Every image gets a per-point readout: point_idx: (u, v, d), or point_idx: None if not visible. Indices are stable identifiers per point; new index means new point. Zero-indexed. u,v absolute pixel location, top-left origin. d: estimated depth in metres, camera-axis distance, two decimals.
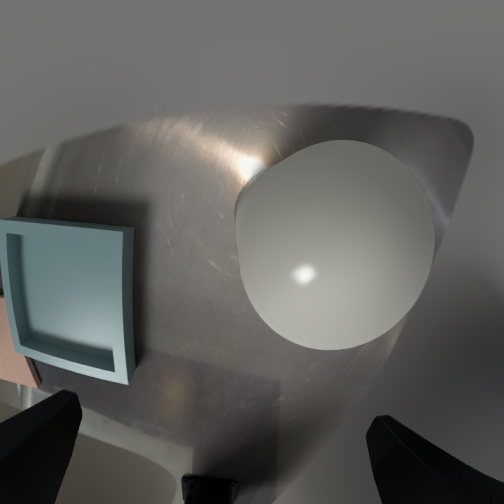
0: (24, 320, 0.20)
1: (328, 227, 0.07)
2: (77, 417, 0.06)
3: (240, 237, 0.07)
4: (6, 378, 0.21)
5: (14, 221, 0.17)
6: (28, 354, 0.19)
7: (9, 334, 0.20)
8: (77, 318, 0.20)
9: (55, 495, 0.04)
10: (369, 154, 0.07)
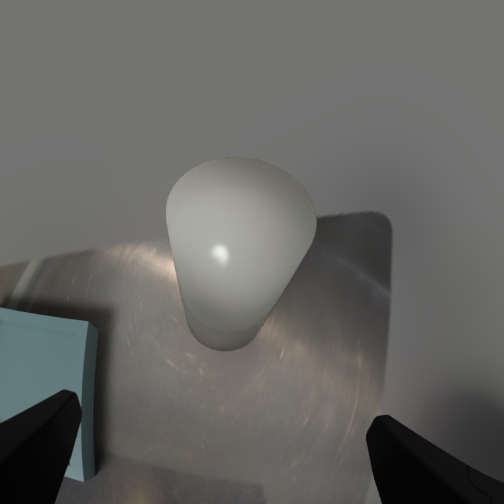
0: None
1: (223, 195, 0.12)
2: (77, 417, 0.06)
3: (167, 203, 0.11)
4: None
5: None
6: None
7: None
8: None
9: (55, 496, 0.04)
10: (245, 161, 0.13)
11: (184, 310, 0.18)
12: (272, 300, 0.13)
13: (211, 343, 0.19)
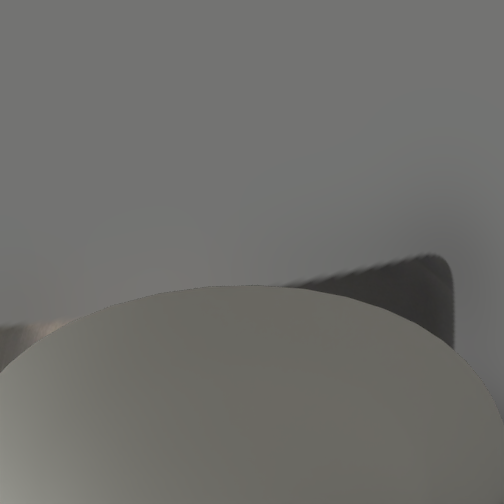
0: None
1: None
2: None
3: None
4: None
5: None
6: None
7: None
8: None
9: None
10: (279, 321, 0.02)
11: None
12: None
13: None
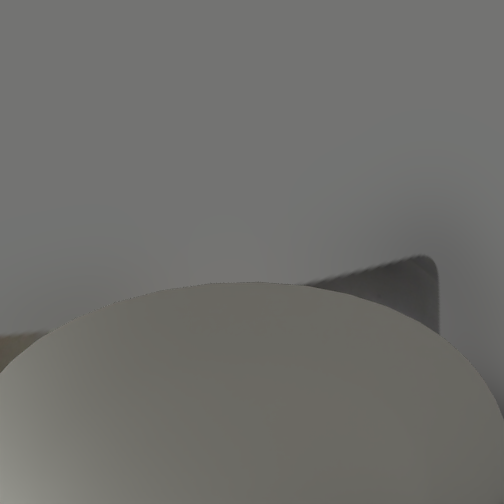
0: None
1: None
2: None
3: None
4: None
5: None
6: None
7: None
8: None
9: None
10: (281, 317, 0.02)
11: None
12: None
13: None
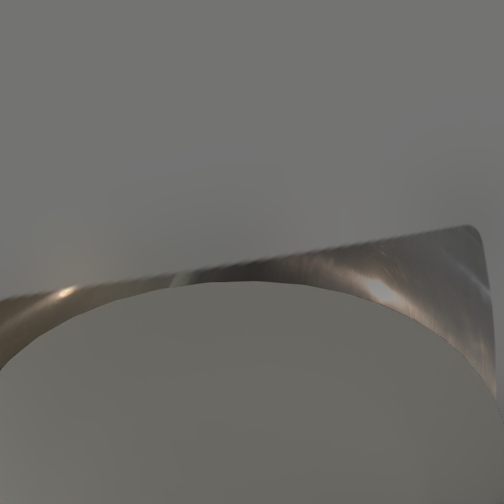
0: None
1: None
2: None
3: None
4: None
5: None
6: None
7: None
8: None
9: None
10: (278, 316, 0.02)
11: None
12: None
13: None
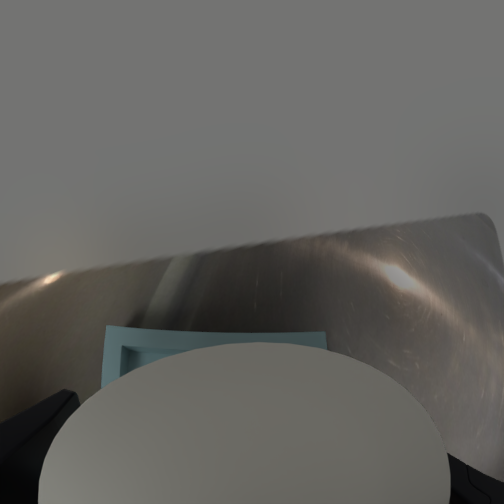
0: None
1: None
2: None
3: None
4: None
5: (141, 329, 0.14)
6: None
7: None
8: None
9: None
10: (272, 365, 0.03)
11: None
12: None
13: None
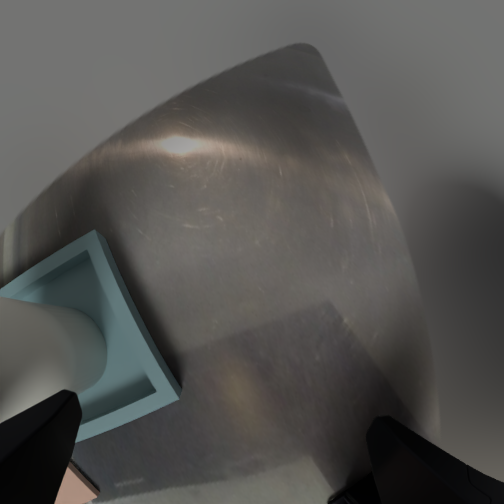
0: None
1: None
2: (77, 417, 0.06)
3: None
4: None
5: None
6: None
7: None
8: None
9: (55, 496, 0.04)
10: None
11: None
12: None
13: None
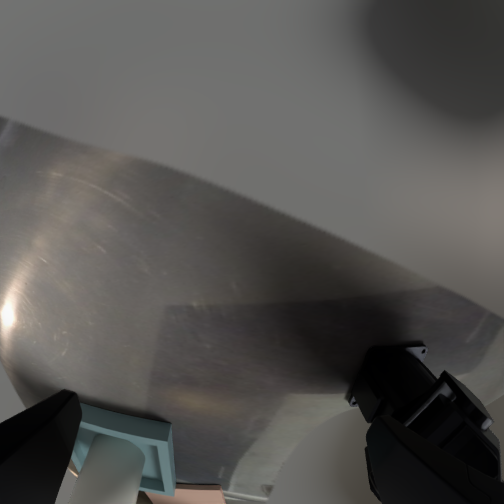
0: (150, 480, 0.24)
1: None
2: (77, 417, 0.06)
3: None
4: None
5: (75, 464, 0.22)
6: (171, 490, 0.23)
7: None
8: None
9: (55, 496, 0.04)
10: None
11: None
12: None
13: None
